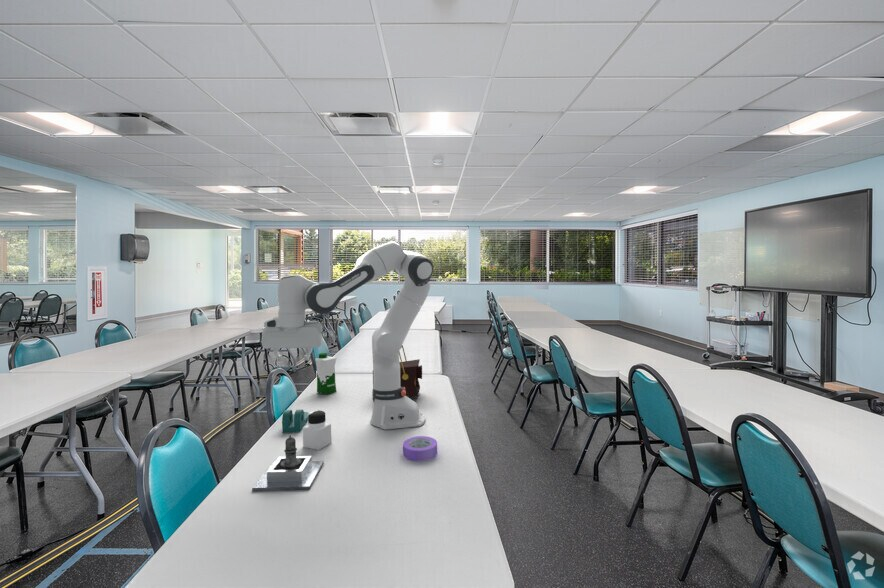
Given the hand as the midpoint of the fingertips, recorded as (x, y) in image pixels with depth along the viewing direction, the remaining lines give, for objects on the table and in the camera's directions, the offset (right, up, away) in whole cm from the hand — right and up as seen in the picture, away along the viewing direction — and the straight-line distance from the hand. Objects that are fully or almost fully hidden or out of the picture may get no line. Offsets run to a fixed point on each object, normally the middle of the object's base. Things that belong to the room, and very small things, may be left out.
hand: (293, 360), depth 143 cm
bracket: (-7, -31, +25) cm, 40 cm away
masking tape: (+45, -31, -4) cm, 55 cm away
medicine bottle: (+7, -31, +4) cm, 32 cm away
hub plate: (+6, -32, -19) cm, 38 cm away
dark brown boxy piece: (+30, -28, +61) cm, 73 cm away
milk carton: (-8, -28, +70) cm, 76 cm away
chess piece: (+7, -31, -20) cm, 38 cm away
